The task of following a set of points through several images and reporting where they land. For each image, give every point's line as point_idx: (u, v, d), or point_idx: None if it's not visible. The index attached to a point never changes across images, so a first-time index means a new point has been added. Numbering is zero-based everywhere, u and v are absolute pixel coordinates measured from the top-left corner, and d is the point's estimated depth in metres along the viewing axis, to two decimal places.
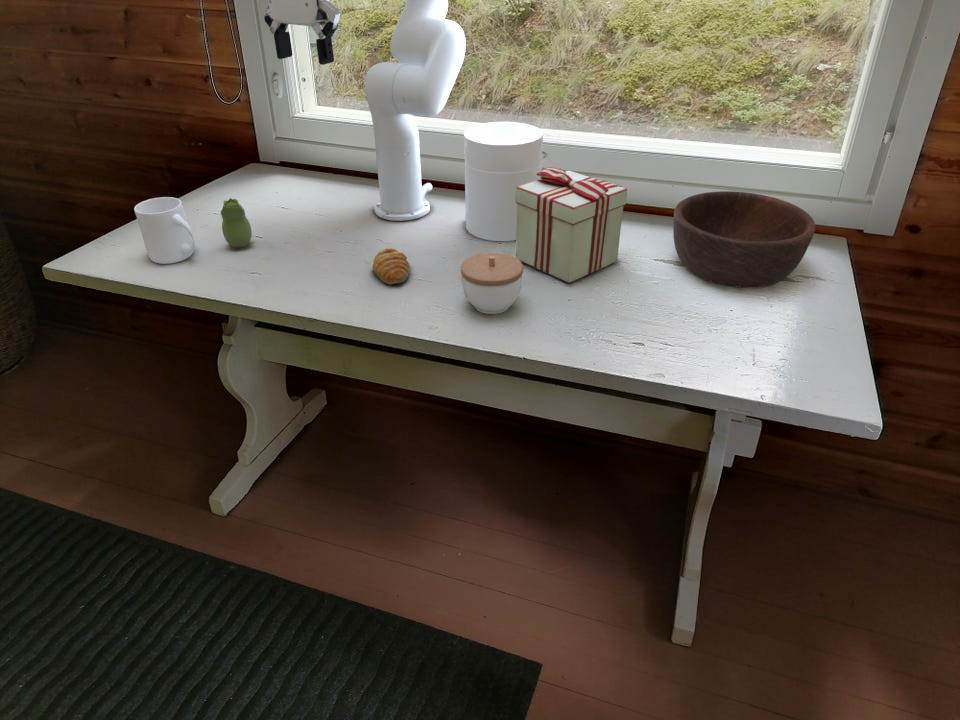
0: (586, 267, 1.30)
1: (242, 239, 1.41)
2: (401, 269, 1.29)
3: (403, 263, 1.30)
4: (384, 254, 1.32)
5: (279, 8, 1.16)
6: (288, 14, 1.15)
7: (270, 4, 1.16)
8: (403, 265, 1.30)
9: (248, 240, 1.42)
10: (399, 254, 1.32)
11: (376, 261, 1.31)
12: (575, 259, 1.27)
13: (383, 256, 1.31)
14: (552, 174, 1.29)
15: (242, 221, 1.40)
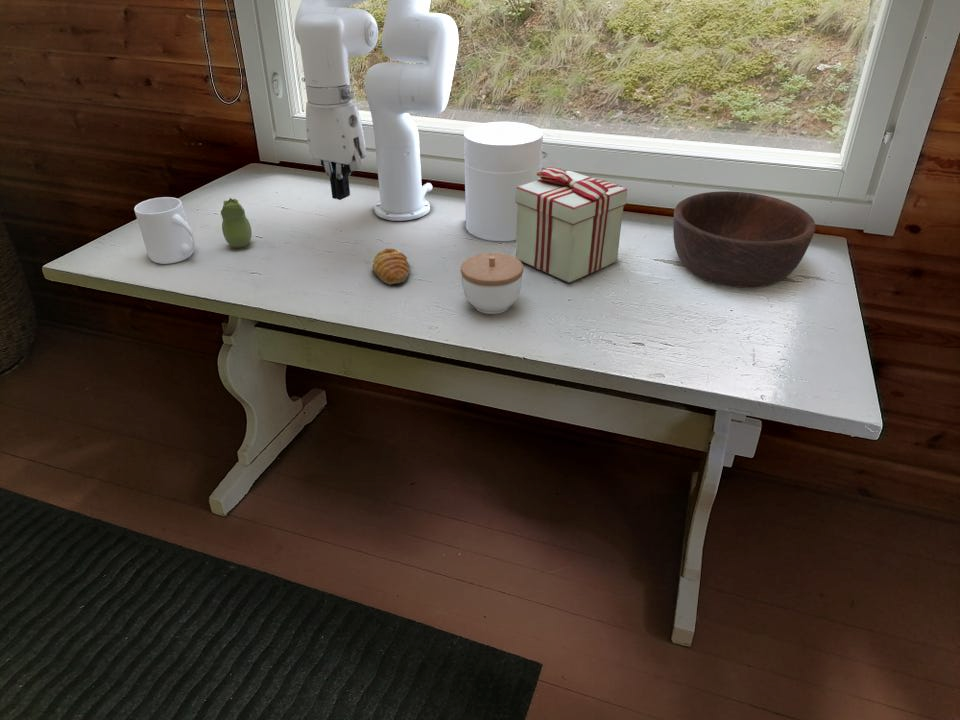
0: (586, 267, 1.30)
1: (242, 239, 1.41)
2: (401, 269, 1.29)
3: (403, 263, 1.30)
4: (384, 254, 1.32)
5: (317, 147, 1.24)
6: (326, 153, 1.23)
7: (309, 142, 1.24)
8: (403, 265, 1.30)
9: (248, 240, 1.42)
10: (399, 254, 1.32)
11: (376, 261, 1.31)
12: (575, 259, 1.27)
13: (383, 256, 1.31)
14: (553, 174, 1.29)
15: (242, 221, 1.40)
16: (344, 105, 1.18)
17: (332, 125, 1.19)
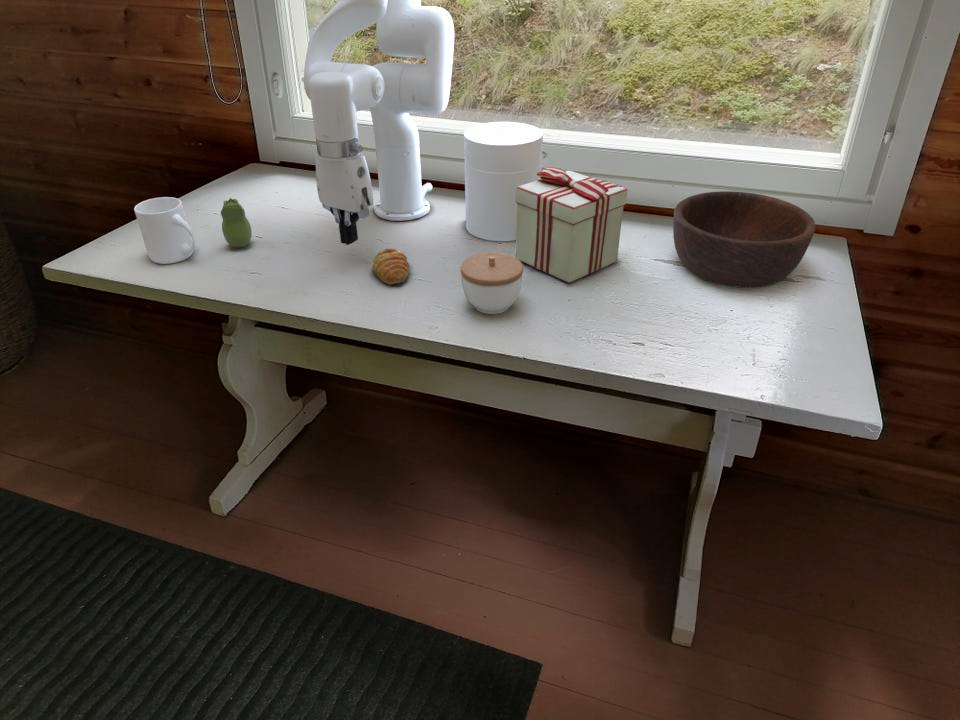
0: (586, 267, 1.30)
1: (242, 239, 1.41)
2: (401, 269, 1.29)
3: (403, 263, 1.30)
4: (384, 254, 1.32)
5: (327, 196, 1.28)
6: (335, 202, 1.28)
7: (318, 191, 1.29)
8: (403, 265, 1.30)
9: (248, 240, 1.42)
10: (399, 254, 1.32)
11: (376, 261, 1.31)
12: (575, 259, 1.26)
13: (383, 256, 1.31)
14: (553, 174, 1.29)
15: (242, 221, 1.40)
16: (353, 158, 1.23)
17: (341, 176, 1.24)
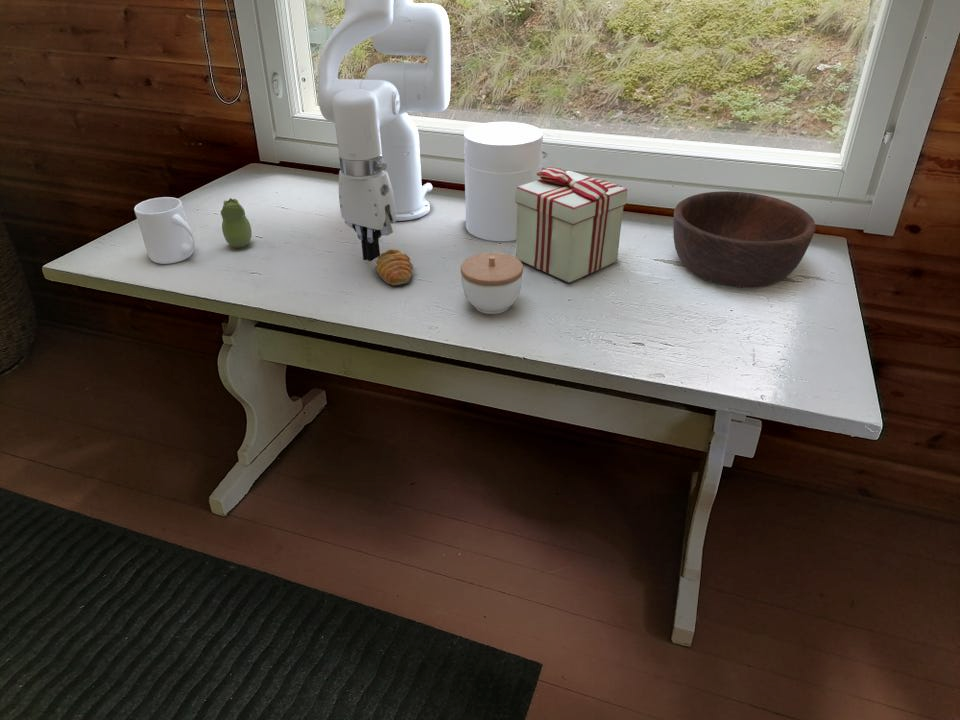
0: (586, 267, 1.30)
1: (242, 239, 1.41)
2: (404, 270, 1.28)
3: (406, 264, 1.30)
4: (387, 255, 1.32)
5: (350, 213, 1.28)
6: (358, 219, 1.27)
7: (341, 208, 1.28)
8: (406, 266, 1.29)
9: (248, 240, 1.42)
10: (402, 255, 1.32)
11: (379, 262, 1.31)
12: (575, 259, 1.26)
13: (387, 257, 1.31)
14: (553, 174, 1.29)
15: (242, 221, 1.40)
16: (376, 175, 1.22)
17: (364, 194, 1.23)
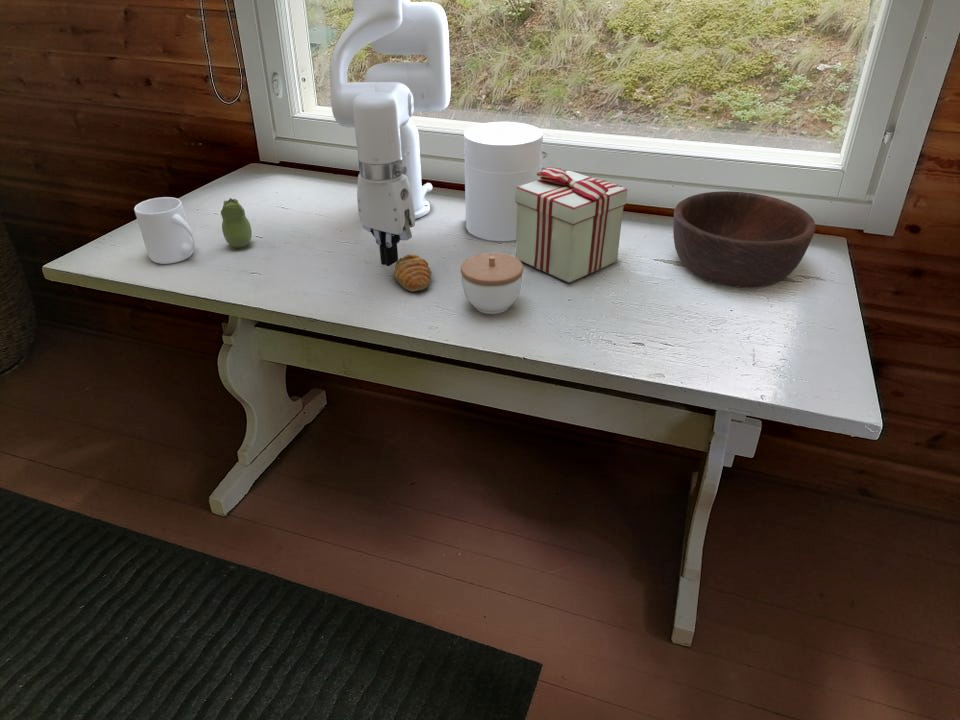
0: (586, 267, 1.30)
1: (242, 239, 1.41)
2: (423, 276, 1.27)
3: (425, 270, 1.28)
4: (405, 260, 1.30)
5: (368, 217, 1.26)
6: (377, 223, 1.25)
7: (359, 212, 1.26)
8: (425, 272, 1.28)
9: (248, 240, 1.42)
10: (421, 260, 1.30)
11: (397, 267, 1.29)
12: (575, 259, 1.27)
13: (405, 263, 1.29)
14: (553, 174, 1.29)
15: (242, 221, 1.40)
16: (396, 180, 1.20)
17: (384, 198, 1.21)
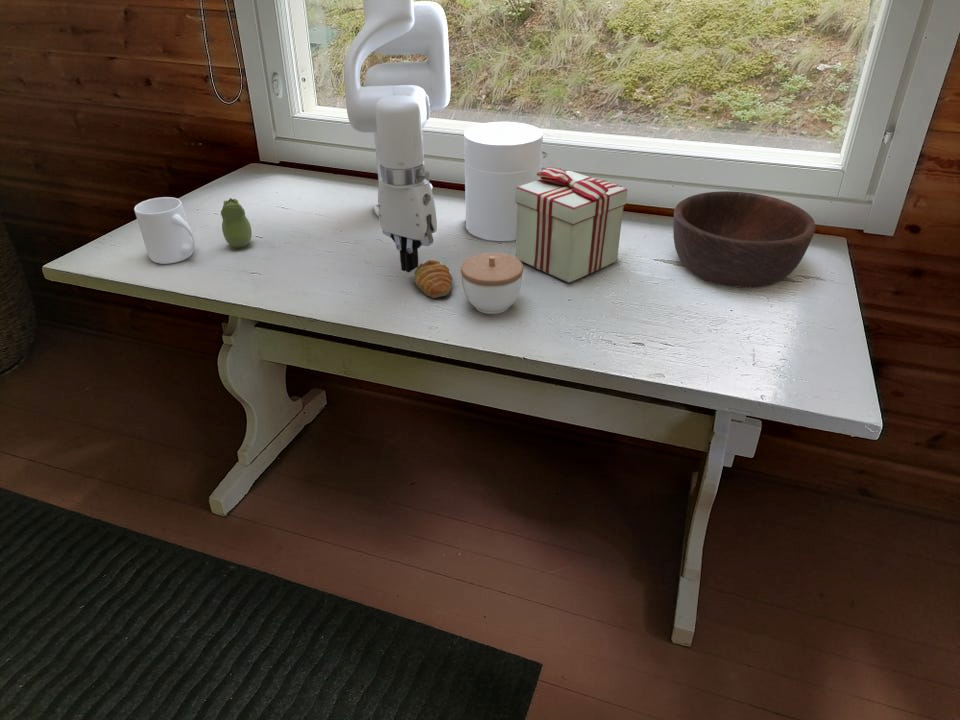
0: (586, 267, 1.30)
1: (242, 239, 1.41)
2: (445, 282, 1.25)
3: (446, 276, 1.26)
4: (426, 266, 1.28)
5: (389, 223, 1.24)
6: (398, 229, 1.23)
7: (380, 217, 1.24)
8: (447, 278, 1.26)
9: (248, 240, 1.42)
10: (442, 266, 1.28)
11: (418, 273, 1.27)
12: (575, 259, 1.27)
13: (426, 269, 1.27)
14: (553, 174, 1.29)
15: (242, 221, 1.40)
16: (418, 184, 1.18)
17: (406, 204, 1.19)
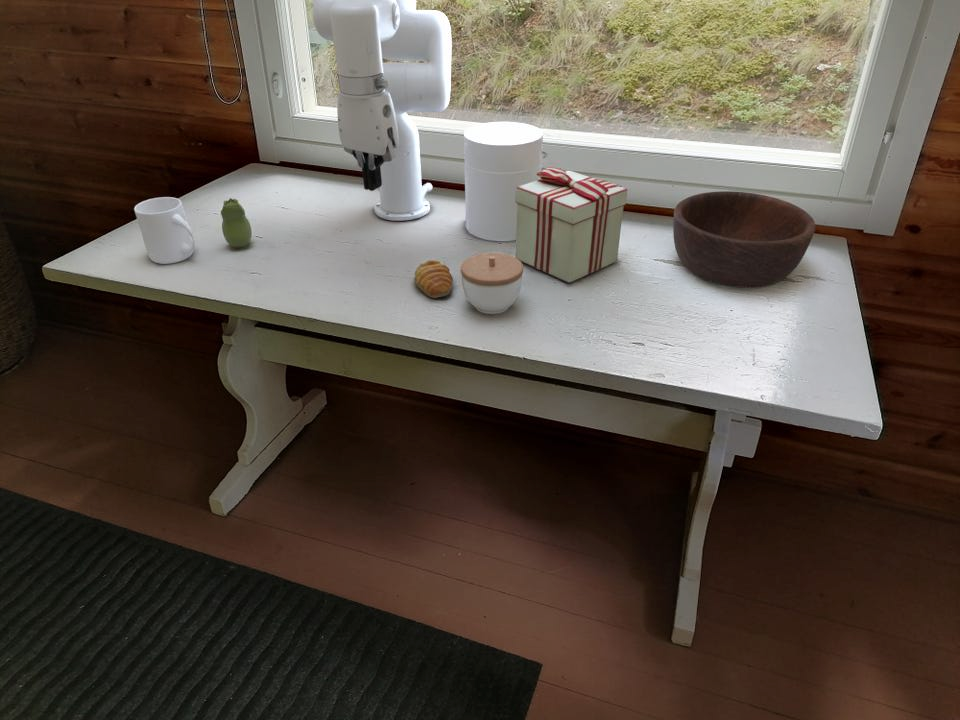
0: (586, 267, 1.30)
1: (242, 239, 1.41)
2: (445, 282, 1.24)
3: (447, 276, 1.26)
4: (426, 266, 1.28)
5: (350, 137, 1.20)
6: (358, 144, 1.20)
7: (340, 133, 1.21)
8: (447, 278, 1.25)
9: (248, 240, 1.42)
10: (442, 266, 1.28)
11: (418, 273, 1.27)
12: (575, 259, 1.27)
13: (426, 269, 1.27)
14: (553, 174, 1.29)
15: (242, 221, 1.40)
16: (378, 95, 1.15)
17: (365, 116, 1.16)
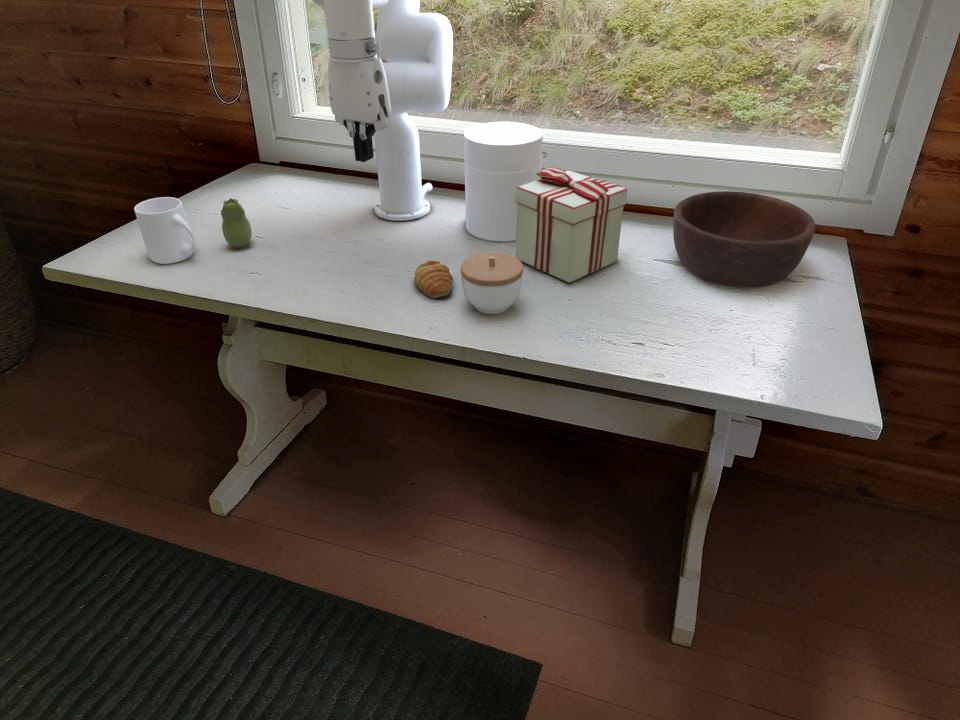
0: (586, 267, 1.30)
1: (242, 239, 1.41)
2: (445, 282, 1.24)
3: (447, 276, 1.26)
4: (426, 266, 1.28)
5: (340, 106, 1.18)
6: (349, 112, 1.17)
7: (331, 101, 1.19)
8: (447, 278, 1.25)
9: (248, 240, 1.42)
10: (442, 266, 1.28)
11: (418, 273, 1.27)
12: (575, 259, 1.26)
13: (426, 269, 1.27)
14: (553, 174, 1.29)
15: (242, 221, 1.40)
16: (369, 60, 1.12)
17: (356, 81, 1.13)
